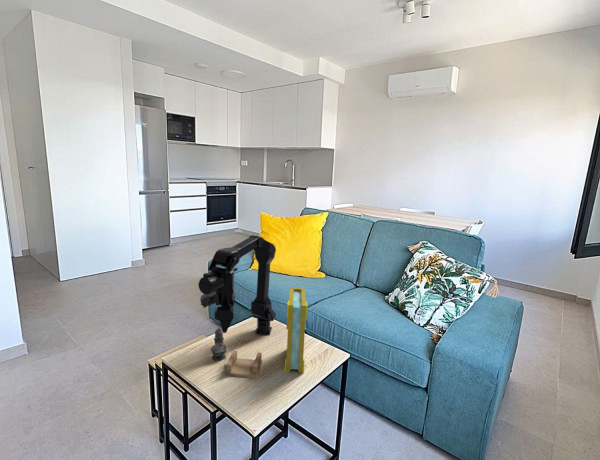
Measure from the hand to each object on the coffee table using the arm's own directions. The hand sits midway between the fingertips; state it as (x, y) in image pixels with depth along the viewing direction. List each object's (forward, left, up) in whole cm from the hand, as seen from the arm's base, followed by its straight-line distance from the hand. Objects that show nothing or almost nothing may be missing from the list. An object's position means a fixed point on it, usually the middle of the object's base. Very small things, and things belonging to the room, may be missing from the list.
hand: (225, 326), depth 118 cm
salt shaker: (-1, -3, -13) cm, 14 cm away
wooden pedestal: (+5, +8, -13) cm, 16 cm away
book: (-4, +25, -13) cm, 29 cm away
